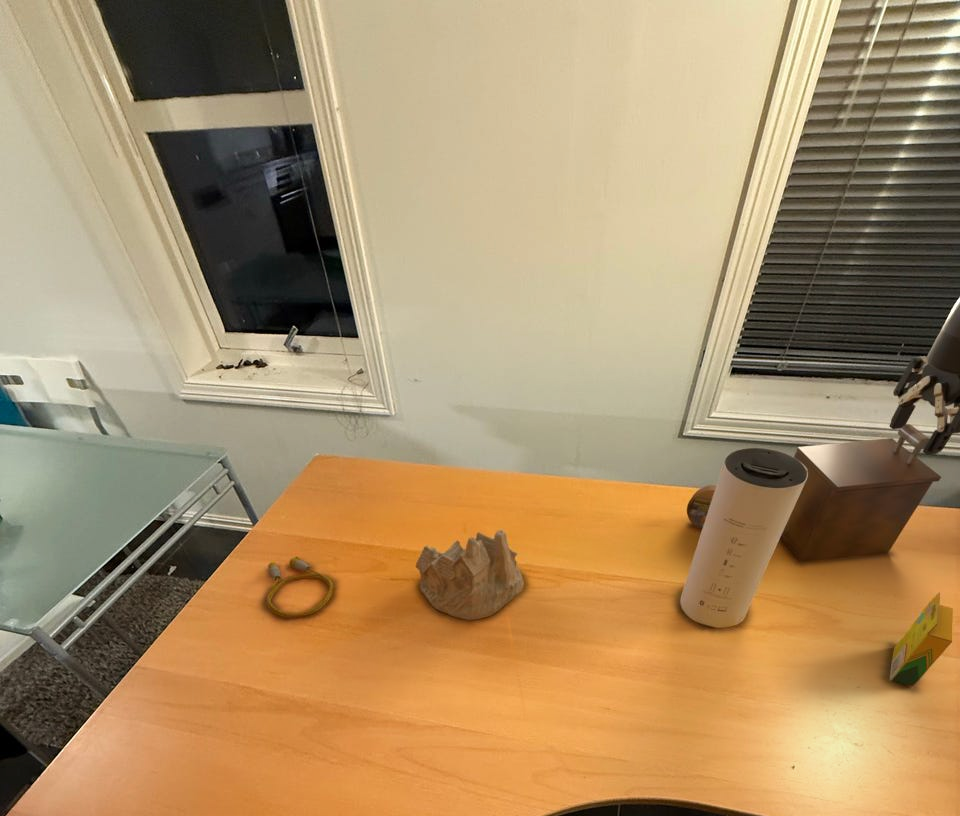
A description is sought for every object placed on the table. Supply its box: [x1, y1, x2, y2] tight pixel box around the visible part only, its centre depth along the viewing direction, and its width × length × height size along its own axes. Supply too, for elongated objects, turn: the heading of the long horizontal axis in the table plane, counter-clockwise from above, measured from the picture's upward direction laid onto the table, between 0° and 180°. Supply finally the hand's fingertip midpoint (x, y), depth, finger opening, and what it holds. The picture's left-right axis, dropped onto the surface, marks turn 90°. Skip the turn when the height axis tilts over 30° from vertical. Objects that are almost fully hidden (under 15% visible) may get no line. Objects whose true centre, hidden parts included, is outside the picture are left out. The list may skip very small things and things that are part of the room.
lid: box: [795, 423, 942, 491], centre depth 88 cm, size 17×13×5 cm
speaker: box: [679, 447, 808, 629], centre depth 80 cm, size 11×10×26 cm
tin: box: [686, 484, 717, 530], centre depth 100 cm, size 15×3×8 cm, turn 62°
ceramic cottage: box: [415, 529, 525, 621], centre depth 91 cm, size 16×16×15 cm
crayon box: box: [889, 591, 954, 688], centre depth 75 cm, size 7×3×12 cm, turn 149°
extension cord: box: [266, 556, 334, 618], centre depth 97 cm, size 12×16×2 cm
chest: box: [780, 451, 934, 563], centre depth 95 cm, size 16×13×14 cm
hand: (912, 440), depth 87 cm, fingers open, 8 cm apart
